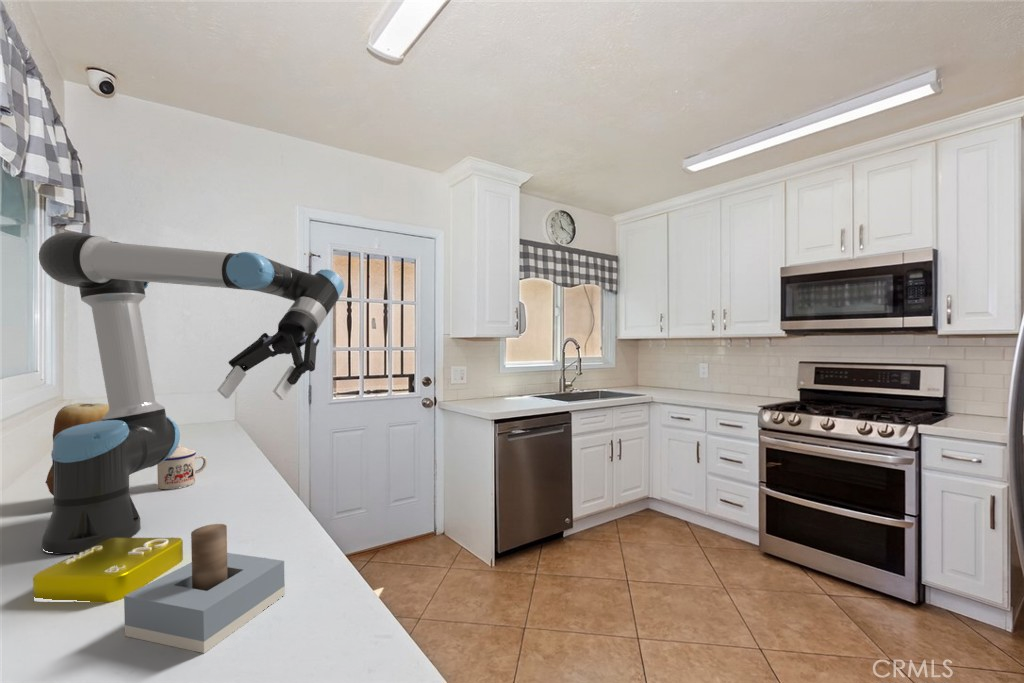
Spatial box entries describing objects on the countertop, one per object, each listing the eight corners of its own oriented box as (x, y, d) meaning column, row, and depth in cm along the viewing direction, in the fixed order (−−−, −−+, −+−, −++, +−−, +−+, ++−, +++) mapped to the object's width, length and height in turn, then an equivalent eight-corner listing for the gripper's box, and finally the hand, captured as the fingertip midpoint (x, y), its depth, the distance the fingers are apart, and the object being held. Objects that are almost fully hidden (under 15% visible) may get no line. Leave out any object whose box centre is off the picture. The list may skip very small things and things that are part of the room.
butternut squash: (114, 502, 118) (112, 404, 118) (40, 514, 110) (38, 409, 110) (121, 488, 129) (119, 398, 129) (54, 498, 122) (52, 403, 122)
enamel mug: (162, 492, 125) (161, 449, 125) (152, 486, 131) (151, 445, 131) (212, 481, 135) (211, 441, 135) (201, 476, 140) (200, 437, 140)
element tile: (111, 559, 88) (110, 534, 88) (188, 559, 87) (188, 534, 87) (25, 605, 73) (24, 574, 73) (118, 605, 72) (117, 574, 72)
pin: (185, 610, 67) (183, 534, 67) (212, 593, 72) (210, 522, 72) (208, 614, 66) (207, 537, 66) (235, 597, 70) (233, 525, 70)
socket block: (124, 635, 64) (124, 596, 64) (215, 583, 78) (214, 550, 78) (204, 653, 60) (203, 611, 60) (284, 595, 74) (284, 560, 74)
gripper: (356, 332, 106) (312, 408, 91) (266, 334, 112) (212, 404, 98) (341, 307, 100) (292, 383, 86) (248, 310, 107) (188, 382, 93)
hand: (249, 395), depth 92 cm, fingers open, 13 cm apart
